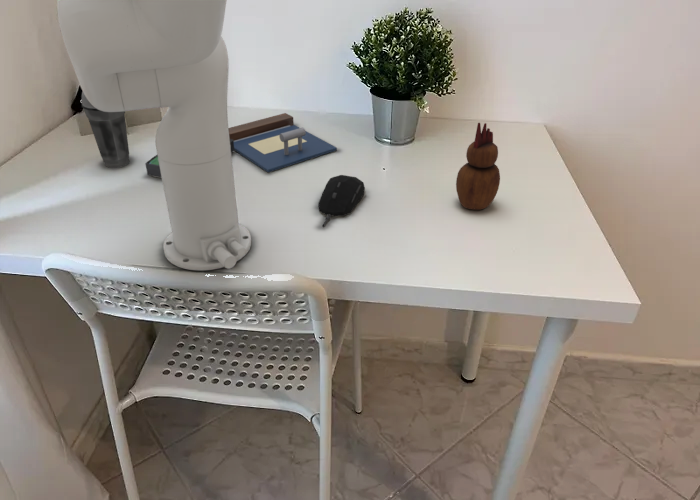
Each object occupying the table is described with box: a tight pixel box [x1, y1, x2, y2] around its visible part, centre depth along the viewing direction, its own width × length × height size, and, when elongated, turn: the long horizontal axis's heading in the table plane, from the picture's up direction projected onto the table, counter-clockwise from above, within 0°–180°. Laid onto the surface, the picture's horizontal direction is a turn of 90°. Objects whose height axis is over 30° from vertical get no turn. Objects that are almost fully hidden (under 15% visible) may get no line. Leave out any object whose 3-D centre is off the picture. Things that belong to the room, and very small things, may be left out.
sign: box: [234, 124, 338, 173], centre depth 114 cm, size 15×16×5 cm
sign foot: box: [228, 112, 295, 141], centre depth 121 cm, size 3×17×2 cm, turn 129°
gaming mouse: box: [317, 174, 366, 228], centre depth 96 cm, size 6×15×4 cm, turn 162°
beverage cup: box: [81, 91, 131, 169], centre depth 104 cm, size 7×7×20 cm
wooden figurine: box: [455, 122, 501, 211], centre depth 93 cm, size 7×6×15 cm
